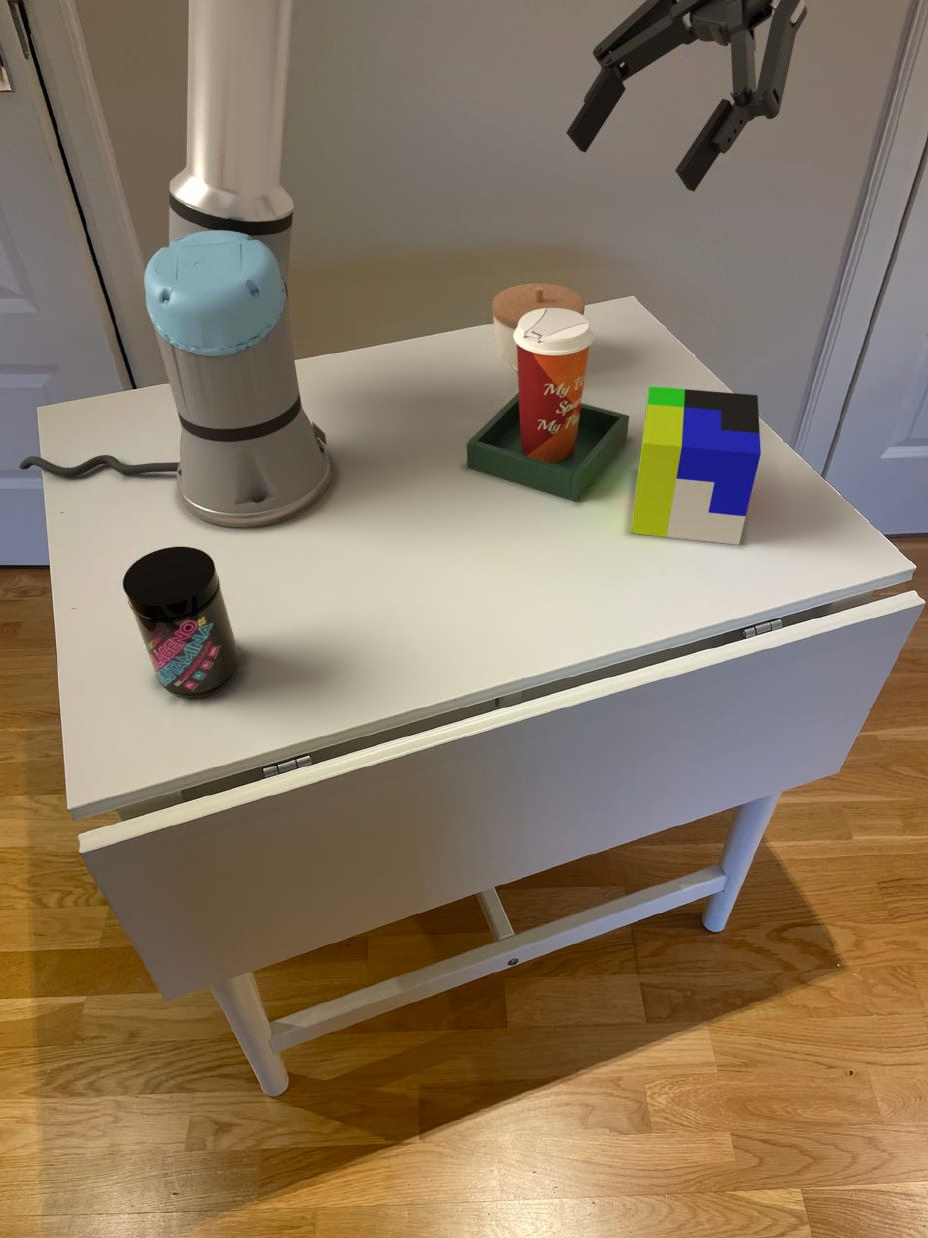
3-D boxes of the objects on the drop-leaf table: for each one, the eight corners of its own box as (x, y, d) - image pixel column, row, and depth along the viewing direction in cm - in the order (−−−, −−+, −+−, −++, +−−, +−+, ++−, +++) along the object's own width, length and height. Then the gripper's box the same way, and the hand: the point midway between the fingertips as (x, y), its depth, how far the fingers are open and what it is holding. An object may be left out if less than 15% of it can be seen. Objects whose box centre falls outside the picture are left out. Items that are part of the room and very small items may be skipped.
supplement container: (140, 678, 74) (103, 582, 67) (203, 630, 78) (174, 535, 71) (196, 715, 71) (163, 618, 64) (259, 664, 75) (234, 567, 68)
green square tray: (467, 467, 95) (466, 442, 93) (522, 411, 103) (523, 387, 100) (577, 502, 90) (579, 476, 88) (626, 440, 98) (629, 415, 96)
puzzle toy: (738, 544, 85) (760, 453, 78) (630, 533, 86) (642, 443, 79) (737, 483, 92) (757, 395, 85) (637, 473, 93) (649, 386, 87)
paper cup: (555, 477, 92) (562, 349, 82) (496, 451, 96) (497, 325, 86) (599, 444, 96) (611, 319, 87) (541, 420, 100) (546, 297, 90)
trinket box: (475, 370, 110) (474, 294, 103) (522, 335, 116) (524, 262, 109) (551, 394, 105) (555, 317, 99) (596, 356, 111) (602, 282, 105)
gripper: (915, -14, 72) (752, 225, 76) (682, -50, 87) (555, 152, 91) (896, -93, 66) (720, 171, 70) (650, -117, 81) (515, 103, 85)
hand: (627, 161), depth 80 cm, fingers open, 13 cm apart
